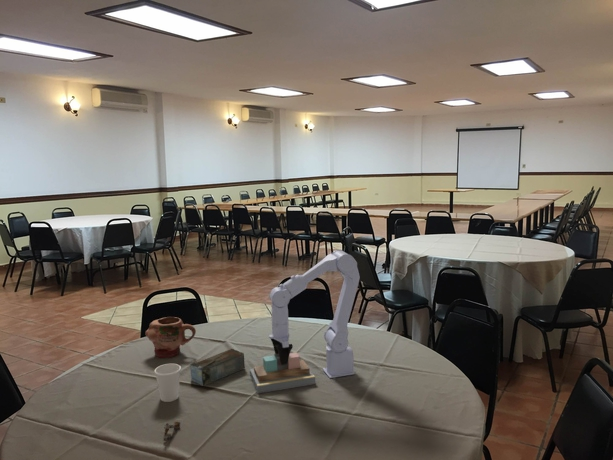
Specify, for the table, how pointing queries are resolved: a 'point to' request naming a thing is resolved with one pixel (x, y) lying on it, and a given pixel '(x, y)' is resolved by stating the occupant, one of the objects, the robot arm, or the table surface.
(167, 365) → the dixie cup
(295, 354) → the crate rose
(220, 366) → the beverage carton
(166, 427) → the toy blaster gun
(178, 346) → the terracotta mug
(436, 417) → the table surface
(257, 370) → the pallet
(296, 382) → the grey flat block
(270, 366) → the block
